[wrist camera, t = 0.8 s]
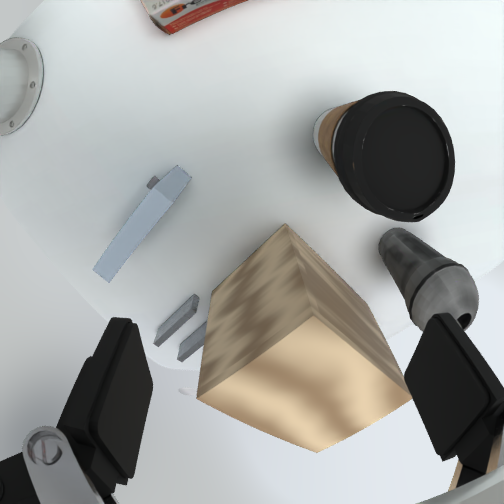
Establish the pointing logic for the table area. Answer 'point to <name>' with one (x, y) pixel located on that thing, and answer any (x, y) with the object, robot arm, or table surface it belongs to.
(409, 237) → the beverage cup
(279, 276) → the cabinet
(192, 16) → the medicine box
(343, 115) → the coffee cup
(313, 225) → the table surface
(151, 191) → the door panel
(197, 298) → the hinge clips
